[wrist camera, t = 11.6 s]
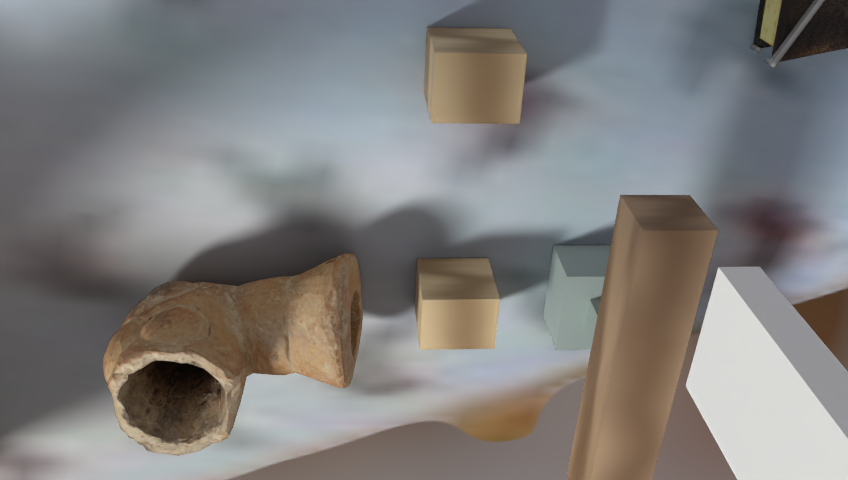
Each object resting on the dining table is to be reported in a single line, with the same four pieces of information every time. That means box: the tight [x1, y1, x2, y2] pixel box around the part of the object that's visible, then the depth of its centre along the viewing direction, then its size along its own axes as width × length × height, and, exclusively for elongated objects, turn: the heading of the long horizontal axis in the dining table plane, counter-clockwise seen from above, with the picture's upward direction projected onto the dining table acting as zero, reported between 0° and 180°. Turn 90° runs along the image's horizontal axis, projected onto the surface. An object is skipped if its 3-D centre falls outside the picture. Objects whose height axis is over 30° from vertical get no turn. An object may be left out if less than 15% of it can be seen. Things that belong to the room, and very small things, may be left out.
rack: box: [415, 27, 527, 350], centre depth 49 cm, size 5×20×5 cm, turn 178°
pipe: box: [103, 253, 363, 456], centre depth 51 cm, size 9×16×10 cm, turn 99°
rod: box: [567, 195, 718, 480], centre depth 48 cm, size 4×22×4 cm, turn 178°
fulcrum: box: [543, 245, 611, 350], centre depth 53 cm, size 6×6×8 cm
